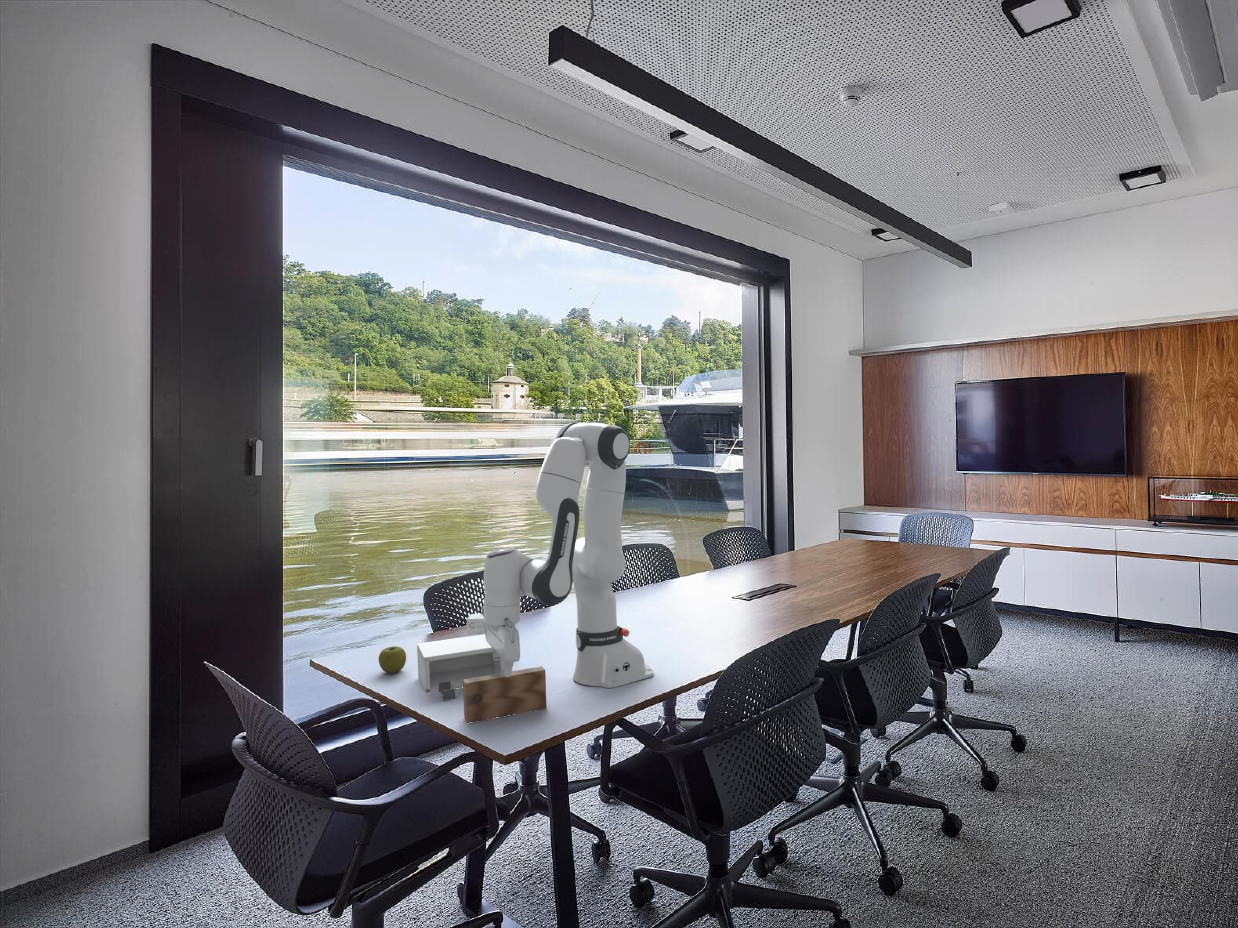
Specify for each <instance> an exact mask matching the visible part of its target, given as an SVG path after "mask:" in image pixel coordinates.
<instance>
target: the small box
mask: <svg viewBox="0 0 1238 928" xmlns="http://www.w3.org/2000/svg"><path fill="white" fill-rule="evenodd" d="M466 629H467V630H466V631H467V632H466V633H467V637H468V636H475V635H482V634H485V627H484V617H483V615H482V613H471V614H470V615H469V616H468V617H467V618H466Z"/></svg>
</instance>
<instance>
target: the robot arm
mask: <svg viewBox="0 0 1238 928" xmlns="http://www.w3.org/2000/svg"><path fill="white" fill-rule="evenodd" d="M630 450H631V441H630V437H629V434H628V432H627V431H626V429H624V428H623V427H620V426H618V425H615V424H605V423H600V422H599V423H598V422H590V423H588V422H587V423H586V422H584V423H583V422H581V423H579V422H570V423H567V424H564V425H563V426H562V427H561V428H560V429H559V430H558V432H557V434H556V436H555V440H553V442H552V443H551V445H550V447H549V448H548V451H547V452H546V455H545V457H544V460H543V463H542V466H541V468H540V471H539V475H538V479H537V481H536V486H535V498H536V500H537V503H538V504H539V506H540V507H541V508H542V510H544V512H546V514H548V516H549V518H550V519H551V523H552V532H551V537H550V545H549V550H548V554H547V558H546V560H544V559H541V558H536V557H532V556H529V555H527V554H524V553H522V552H520V551H519V550H518V549H517V548H515V547H514V546H513V547H512V546H505V547H498V548H495V549H492V550H491V551H490V552H488V553H487V555H486V557H485V561H484V566H483V588H484V592H485V593H484V594H485V595H484V599H483V606H481V614H482V615H483V617H484V627H485V637H486V641H487V643H488V644H489V645H490V646H491V647H492V653H493V663H494V664H495V665H501V664H502V659H503V661H504V668H503V675H504V676H505V677H510V676H511V675H512V671H513V666H514V663H516V662H519V661H520V659H521V644H520V633H519V630H518V629H517V627H516V624H518V623H519V622H520V621H521V598H522V597H523V596H524V597H525V596H527V597H529V598H532V599H535V600H537V601H539V602H540V603H542V604H544V605H547V606H556V605H559V604H561V603H562V602H564V601H565V600H566V599H567V598H568V596H569V595H570V593H571V591H572V587H573V588H574V593H575V599H576V618H577V619H576V620H577V623H576V624H577V627H576V628H575V630H576V631H575V633H576V635H575V643H576V644H575V645H576V649H577V652H576V653H577V654H576V664H575V668H574V673H573V676H572V677H573V681H575V682H576V683H578V684H581V685H585V686H591V687H601V688H602V687H603V688H608V689H609V688H610V689H613V688H617V687H619V686H623V685H626V684H630V683H633V682H637V681H640V680H644V679H648V678H652V677H653V675H654V671H653V669H652V667H650V665H648V664H647V663H645V659H644V656H643V653H642V651H641V650H640V649H638V648H637V646H635V645H633V644H632V643H631V642H629V641H628V640H626V639H625V638H627V637H628V636H629V635H630V633H631V632H630V630H628V629H627V628H626V627H625V628H623V627H621V626H619V625H618V621H617V620H618V619H617V598H616V595H615V594H614V591H613V588H612V583H615V582H617V581H618V580H619V579H621V578H622V576H623V575H624V573H625V570H626V566H627V565H626V564H627V563H626V558H625V556H624V551H623V541H622V516H623V515H622V514H623V507H624V499H625V491H626V483H627V468H626V467H627V466H626V459H627V458H628V456H629V453H630ZM587 464H588V467H589V470H588V473H587V474H588V475H587V478H586V483H585V490H584V497H583V503H582V509H581V510H582V511H581V519H582V522H583V533H584V536H583V537H580V538H578V537H577V536H578V530H579V525H580V507H579V497H580V496H579V495H580V489H581V485H582V481H583V477H584V472H585V468H586V467H585V466H586V465H587ZM624 637H625V638H624Z"/></svg>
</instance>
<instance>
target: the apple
mask: <svg viewBox="0 0 1238 928" xmlns="http://www.w3.org/2000/svg"><path fill="white" fill-rule="evenodd" d="M406 662H407V653H406V651H405V650H404V648H403V647H401V646H395V645H393V646H389V647H386V648H384V649H382V650H381V651H380V653H379V655H378V664H379V667H380V668H381V670H382V671H383V672H385V673H386V674H395V673H398V672H399V671H401V670H402V669H404V668H405V665H406Z"/></svg>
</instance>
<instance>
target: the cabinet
mask: <svg viewBox="0 0 1238 928" xmlns="http://www.w3.org/2000/svg"><path fill="white" fill-rule="evenodd" d="M416 653H417V675H418V677H417V679H418V680H419V682H421V683H420V685H421V688H422V689H423V691H424V693H426V694H425V695H430V694H429V693H431V694H435V692H437V693H439V692H441V693H442V700H443V701H446V700H445V699H448V700H453V699H452V698H454V699H456V697H455V696H456V693H455V690H456V689H454V688H460V689H463V688H462V687H463V679H469V678H475V677H481V676H487V675H493V674H499V673H503V668H504V661H503V659H502V664H501V665H495V664H494V663H493V653H492V647H491V646H490V645H489V644H488V643H487V641H486V637H485V634H482V635H475V636H468V635H467V636H463V637H462V636H461V637H455V638H447V639H441V640H434V641H426V642H420V643H419V642H418V643H416Z"/></svg>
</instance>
